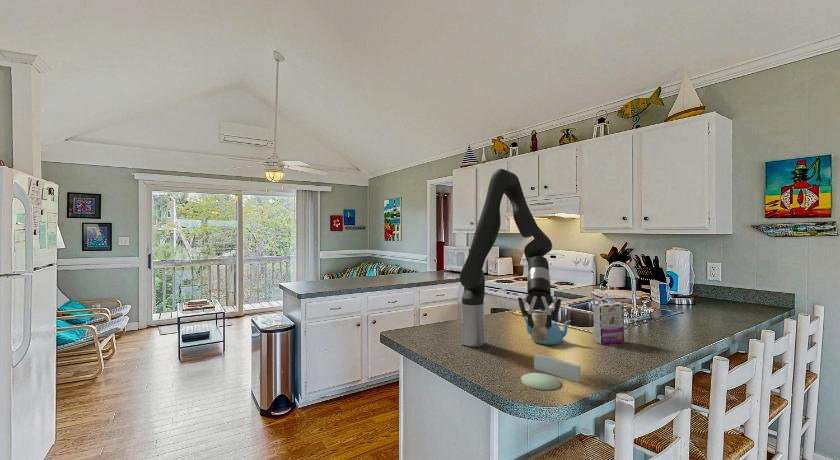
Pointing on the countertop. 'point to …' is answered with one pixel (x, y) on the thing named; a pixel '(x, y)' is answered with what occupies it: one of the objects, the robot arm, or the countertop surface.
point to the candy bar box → (608, 323)
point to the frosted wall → (557, 367)
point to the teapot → (551, 333)
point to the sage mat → (541, 381)
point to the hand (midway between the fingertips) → (539, 327)
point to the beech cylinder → (539, 326)
